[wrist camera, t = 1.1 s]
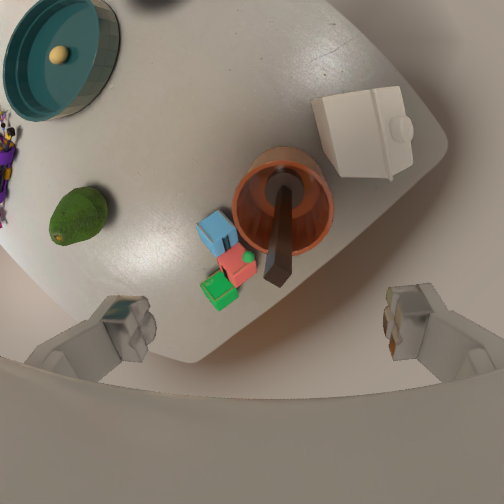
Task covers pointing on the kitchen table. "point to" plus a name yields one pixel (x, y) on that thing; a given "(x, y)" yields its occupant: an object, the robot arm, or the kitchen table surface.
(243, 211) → the crock
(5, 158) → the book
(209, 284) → the building blocks
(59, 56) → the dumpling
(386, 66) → the kitchen table surface
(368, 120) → the milk carton
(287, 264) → the ladle
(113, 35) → the bowl
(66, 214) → the avocado
